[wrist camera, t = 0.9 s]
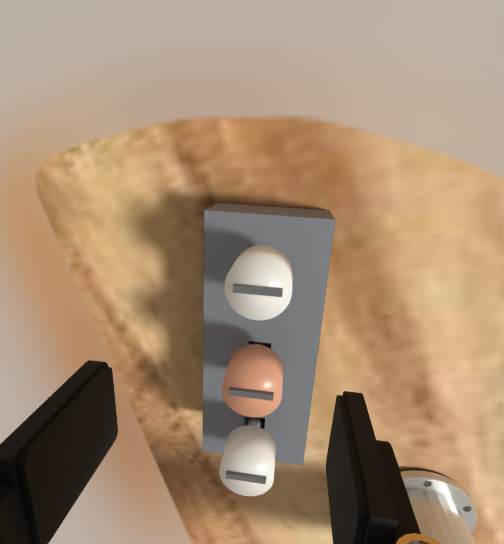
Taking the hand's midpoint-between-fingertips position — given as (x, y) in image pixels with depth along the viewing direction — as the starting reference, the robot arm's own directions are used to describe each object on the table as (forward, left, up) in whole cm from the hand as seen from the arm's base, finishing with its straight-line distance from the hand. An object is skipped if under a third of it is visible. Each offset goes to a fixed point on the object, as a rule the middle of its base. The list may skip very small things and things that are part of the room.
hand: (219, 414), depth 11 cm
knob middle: (-8, 0, -18) cm, 19 cm away
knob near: (0, 0, -18) cm, 18 cm away
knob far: (-16, 0, -18) cm, 24 cm away
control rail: (-8, 0, -22) cm, 23 cm away
